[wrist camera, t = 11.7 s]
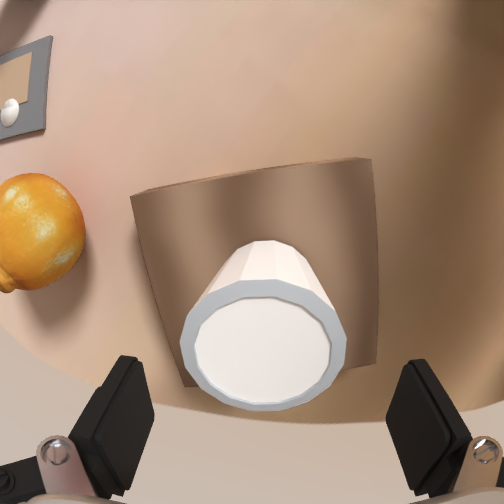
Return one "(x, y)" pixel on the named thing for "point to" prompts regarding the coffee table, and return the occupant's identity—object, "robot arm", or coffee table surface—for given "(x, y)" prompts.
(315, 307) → the shot glass
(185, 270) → the walnut block
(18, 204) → the fruit
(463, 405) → the coffee table surface
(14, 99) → the card
